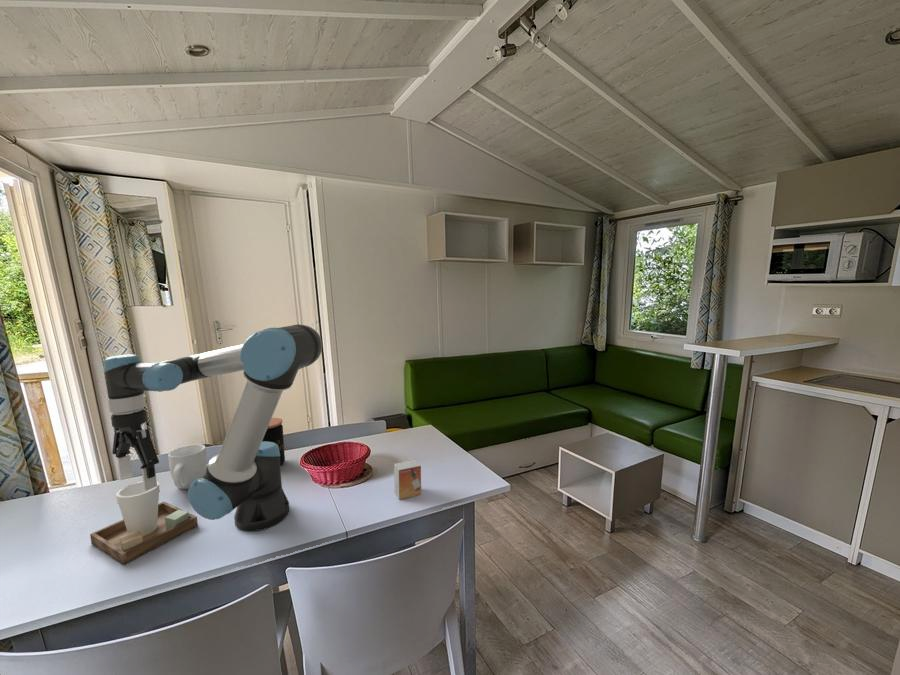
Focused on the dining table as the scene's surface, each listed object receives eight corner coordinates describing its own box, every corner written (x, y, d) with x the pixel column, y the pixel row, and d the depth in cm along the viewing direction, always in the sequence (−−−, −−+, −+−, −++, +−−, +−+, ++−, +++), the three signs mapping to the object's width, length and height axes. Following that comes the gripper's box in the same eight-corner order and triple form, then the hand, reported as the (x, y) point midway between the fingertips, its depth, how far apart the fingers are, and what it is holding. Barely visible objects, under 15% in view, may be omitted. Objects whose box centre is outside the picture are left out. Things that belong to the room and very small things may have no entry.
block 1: (143, 550, 100) (142, 536, 99) (124, 558, 97) (122, 543, 96) (140, 543, 102) (139, 529, 102) (121, 550, 100) (120, 537, 99)
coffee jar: (277, 471, 144) (274, 426, 142) (250, 471, 144) (246, 427, 142) (289, 459, 155) (287, 417, 152) (264, 459, 155) (261, 417, 153)
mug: (196, 496, 127) (192, 460, 125) (159, 500, 125) (155, 463, 123) (213, 475, 141) (210, 442, 140) (180, 479, 139) (177, 445, 137)
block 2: (189, 524, 111) (188, 511, 110) (176, 532, 107) (175, 519, 106) (179, 522, 112) (178, 509, 111) (166, 530, 108) (164, 517, 108)
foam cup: (139, 543, 102) (134, 499, 101) (112, 539, 104) (107, 495, 103) (171, 522, 112) (167, 481, 110) (146, 519, 113) (141, 478, 112)
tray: (197, 525, 111) (196, 516, 111) (123, 565, 95) (122, 554, 95) (165, 510, 119) (164, 501, 119) (91, 544, 103) (90, 534, 103)
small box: (398, 500, 124) (398, 470, 122) (394, 492, 129) (393, 463, 128) (421, 494, 127) (421, 465, 126) (416, 487, 132) (415, 458, 131)
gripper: (168, 411, 101) (177, 486, 104) (123, 402, 112) (132, 468, 115) (134, 420, 94) (145, 499, 97) (90, 409, 106) (101, 480, 108)
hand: (138, 483), depth 106 cm, fingers open, 13 cm apart
